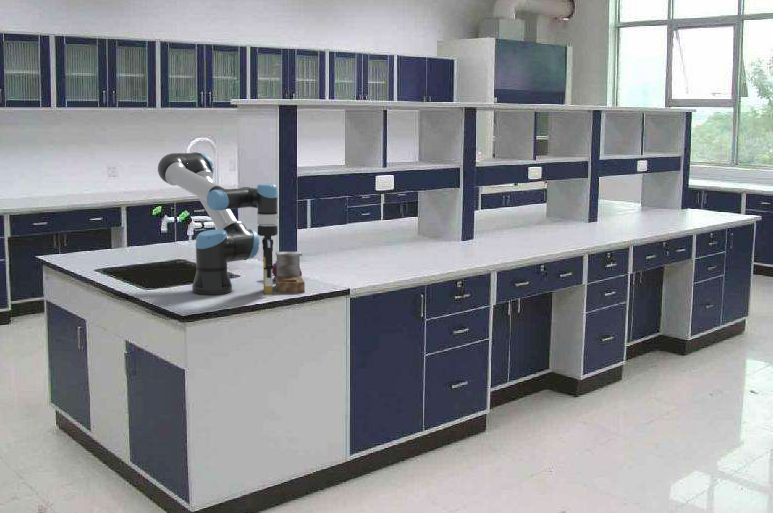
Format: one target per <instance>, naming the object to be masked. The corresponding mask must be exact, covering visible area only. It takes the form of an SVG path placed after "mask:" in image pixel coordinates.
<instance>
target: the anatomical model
mask: <svg viewBox="0 0 773 513" xmlns="http://www.w3.org/2000/svg"><path fill="white" fill-rule="evenodd" d="M300 275H301V277H302V276H303V272H302V269H301V268H300ZM276 276H277V260H275V262H274V263H273V268H272V280H274V281H276Z"/></svg>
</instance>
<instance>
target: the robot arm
mask: <svg viewBox="0 0 773 513" xmlns="http://www.w3.org/2000/svg"><path fill="white" fill-rule="evenodd" d="M187 163H188V164H187ZM214 172H215V170H214V163H213V161H212V159H211V158H210V157H209V156H208V155H207V154H206V153H204V152H193V151H192V152H188V153H187V152H185V153H184V152H182V153H181V152H178V153H176V152H175V153H169V154H166V155H164V156H163V157H161V159H160V161H159V162H158V165H157V173H158V175H159V178H160V179H161V180H162V181H163V182H165V183H167V184H168V185H171V186H177V187H180V188H181V189H182V190H185V191H187V192H189V193H191V194H192V195H194V196H196V197H197V198H198V200H199V202H200V203H201V204H202V206H203V208H204V209H205V212H206V213H207V214H208V216H209V218H210V219H211V221H212V223H213V225H214V226H215V229H207V230H204V231H200V233H198V234H197V235H196V237H195V253H196V254H195V256H196V257H195V258H196V259H195V260H196V262H195V264H196V265H195V267H196V272H195V276H194V280H193V282H192V285H191V286H192V288H191V289H192V290H191V291H192V293H193V294H196V295H202V296H203V295H204V296H205V295H206V296H214V295H215V296H216V295H217V296H218V295H224V294H229V293H231V292H232V291H233V284H232V281H231V279H230V276H229V273H228V272H229V271H228V263H233V262H237V261H248V260H249V259H253V258H255V257H256V256H257V255H258V253H259V251H260V237H262V239H261V243H262V250H263V251H262V253H263V254H262V258H263V257H265V266H266V267H264V269H265V286H272V287H273V276H272V275H273V273H272V268H273V264H274V263H273V249H274V247H273V246H274V240H273V239H272V237H273V236H274V237H275V236H277V235H278V233H279V232H278V230H279V229H278V225H277V224H278V219H279V218H280V216H279V215H278V197H279V194H278V187H277V185H276V184H273V183H260V184H258V185H257V187H250V186H242V187H238V188H224V187H222V186H220V185H218V184H216V183H215V182H214V180H213V179H214ZM244 208H245V209H246V208H254V209H257V213H256V215H257V218H256V219H257V220H256V221H257V231H255V230H254V229H250V228H249V229H248V228H247V227H246V225H245V223H244V222H243V221H238V219H237V218H236V216H235V215H234V213H233V211H232V209H244ZM259 236H260V237H259Z"/></svg>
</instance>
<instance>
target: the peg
mask: <svg viewBox="0 0 773 513" xmlns="http://www.w3.org/2000/svg"><path fill="white" fill-rule="evenodd" d="M262 258H263V259H262V264H263V267H262V268H263V270H262V271H263V275H262V276H263V294H264V293H265V294H266V295H267V294H268V295H271V294H273V285H272V286H265V269H264V267H266V266H265V257H263V256H262Z"/></svg>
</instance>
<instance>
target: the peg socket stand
mask: <svg viewBox="0 0 773 513" xmlns="http://www.w3.org/2000/svg"><path fill="white" fill-rule="evenodd" d="M274 253H275V256H276V261H277V276H276V280H275V287H276V290H277V292H278V294H294V293H295V294H296V293H299V294H300V293H305V285H306V284H305V280H304V279H303V277H302V276H301V275H300V269H301V267H300V263H301V262H300V257H302V256H303V253H302V251H275V252H274Z"/></svg>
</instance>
